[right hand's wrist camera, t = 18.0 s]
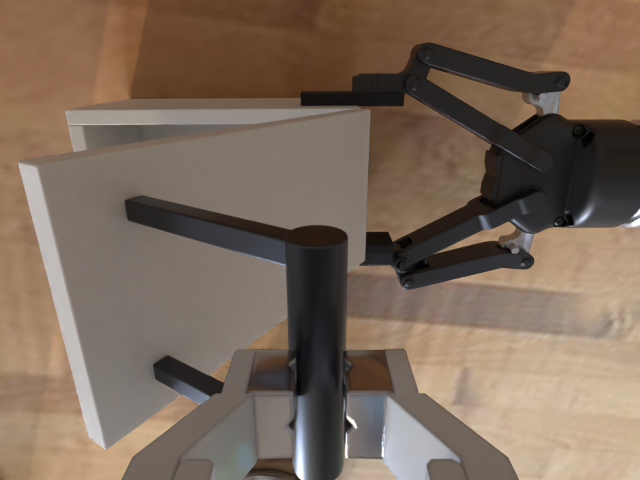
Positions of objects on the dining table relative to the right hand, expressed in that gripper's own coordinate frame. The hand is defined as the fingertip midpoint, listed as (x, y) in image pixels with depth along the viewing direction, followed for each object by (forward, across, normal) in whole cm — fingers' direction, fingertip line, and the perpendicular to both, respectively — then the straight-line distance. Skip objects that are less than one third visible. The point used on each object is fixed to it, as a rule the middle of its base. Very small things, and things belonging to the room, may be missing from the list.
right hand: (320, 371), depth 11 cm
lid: (+10, +3, 0) cm, 11 cm away
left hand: (+21, +1, 0) cm, 21 cm away
